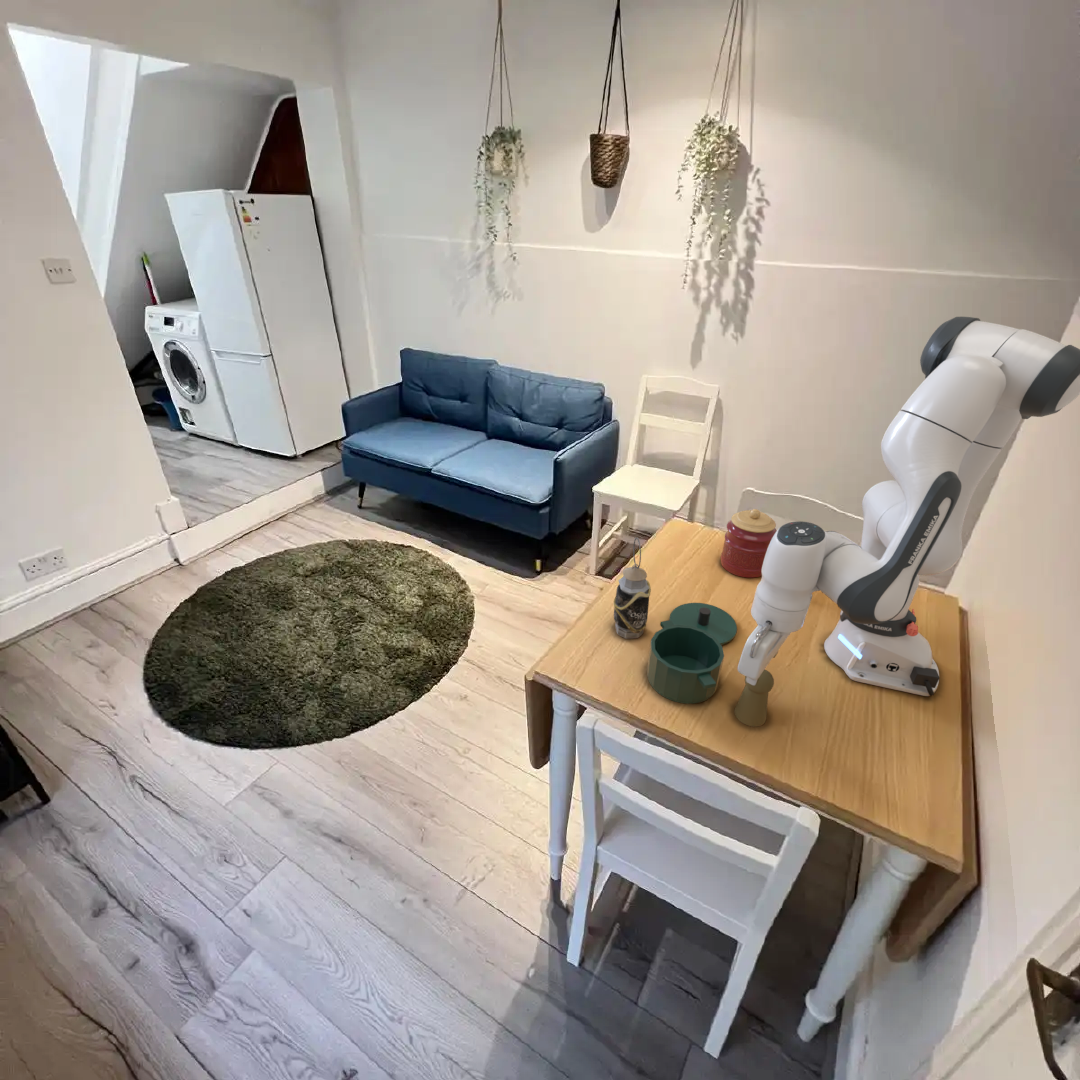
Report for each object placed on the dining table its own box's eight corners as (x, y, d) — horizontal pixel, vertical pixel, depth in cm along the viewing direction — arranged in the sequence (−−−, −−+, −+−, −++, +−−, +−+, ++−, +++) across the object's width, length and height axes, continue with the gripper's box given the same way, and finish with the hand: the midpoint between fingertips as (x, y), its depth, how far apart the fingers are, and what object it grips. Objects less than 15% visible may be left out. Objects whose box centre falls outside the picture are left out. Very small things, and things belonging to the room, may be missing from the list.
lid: (715, 602, 146) (718, 587, 143) (749, 641, 133) (752, 626, 130) (658, 611, 143) (660, 596, 140) (687, 653, 130) (690, 637, 127)
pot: (690, 642, 133) (695, 612, 128) (737, 705, 116) (745, 674, 112) (631, 653, 130) (635, 623, 125) (671, 720, 113) (676, 688, 109)
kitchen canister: (737, 548, 168) (748, 494, 159) (777, 567, 160) (791, 511, 151) (710, 563, 161) (720, 508, 152) (750, 584, 152) (764, 526, 143)
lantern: (649, 641, 133) (661, 549, 120) (614, 642, 133) (622, 550, 120) (641, 617, 140) (651, 529, 128) (608, 619, 140) (615, 530, 127)
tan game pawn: (768, 728, 111) (780, 687, 106) (736, 724, 112) (746, 683, 106) (763, 705, 116) (775, 664, 111) (732, 701, 117) (742, 660, 112)
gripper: (774, 647, 92) (756, 708, 99) (815, 590, 105) (797, 648, 113) (737, 630, 95) (721, 690, 102) (781, 577, 109) (765, 634, 116)
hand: (761, 668), depth 108 cm, fingers open, 8 cm apart
